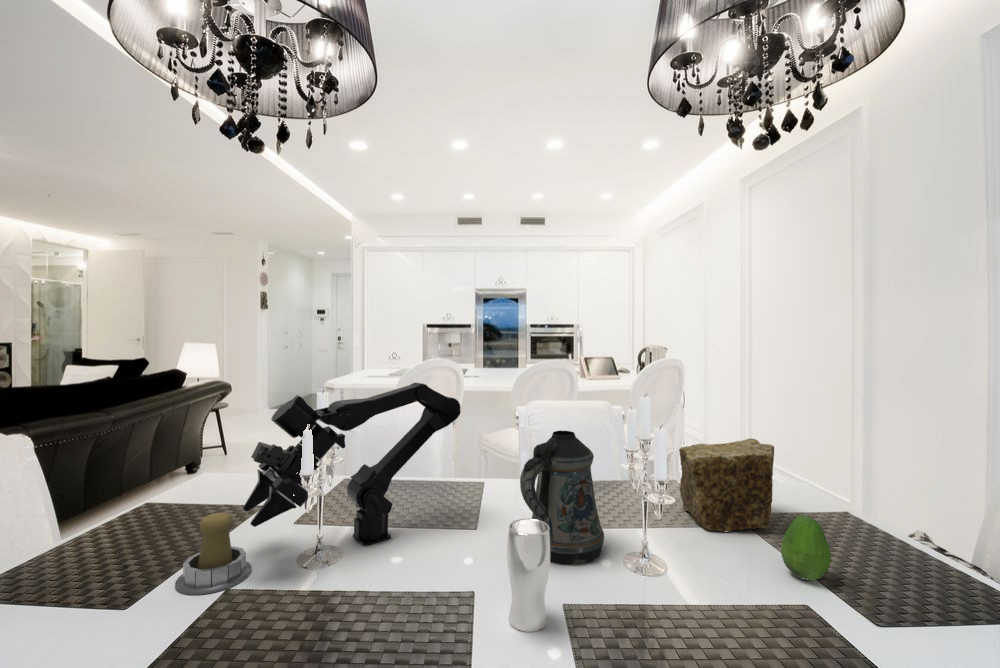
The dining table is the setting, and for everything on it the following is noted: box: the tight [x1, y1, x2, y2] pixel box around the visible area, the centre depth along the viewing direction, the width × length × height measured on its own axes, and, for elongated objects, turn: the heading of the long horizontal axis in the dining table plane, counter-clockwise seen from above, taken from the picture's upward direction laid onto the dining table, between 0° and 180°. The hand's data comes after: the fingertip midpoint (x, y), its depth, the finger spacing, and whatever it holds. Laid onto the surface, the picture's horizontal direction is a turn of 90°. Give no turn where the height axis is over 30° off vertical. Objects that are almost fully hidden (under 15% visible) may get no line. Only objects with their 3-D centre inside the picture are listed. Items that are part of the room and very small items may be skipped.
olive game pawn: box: [197, 512, 234, 569], centre depth 85 cm, size 6×6×11 cm
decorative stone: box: [678, 438, 775, 532], centre depth 117 cm, size 21×20×20 cm
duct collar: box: [174, 545, 253, 596], centre depth 85 cm, size 12×12×4 cm
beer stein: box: [519, 430, 605, 566], centre depth 99 cm, size 16×19×25 cm
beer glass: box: [506, 518, 551, 633], centre depth 74 cm, size 7×7×15 cm
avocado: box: [780, 514, 832, 581], centre depth 89 cm, size 8×8×12 cm
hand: (248, 517), depth 88 cm, fingers open, 9 cm apart
